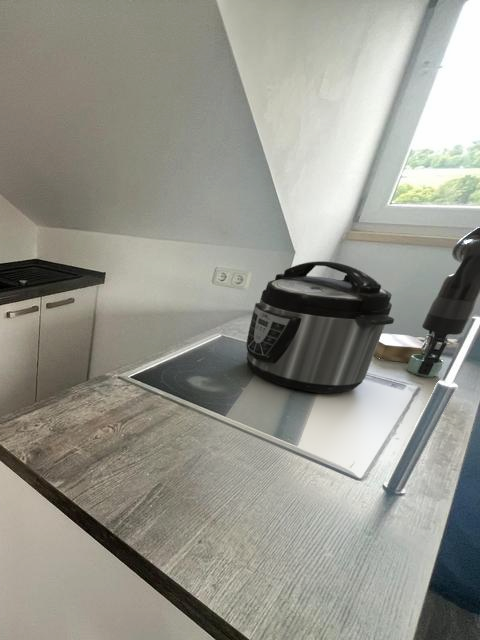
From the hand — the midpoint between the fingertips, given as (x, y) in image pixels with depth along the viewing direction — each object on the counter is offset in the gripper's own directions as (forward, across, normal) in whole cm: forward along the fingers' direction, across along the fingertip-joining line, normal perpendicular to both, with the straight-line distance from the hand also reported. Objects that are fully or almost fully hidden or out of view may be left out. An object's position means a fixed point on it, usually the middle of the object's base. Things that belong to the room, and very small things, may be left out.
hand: (422, 369), depth 111 cm
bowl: (+1, 0, 0) cm, 1 cm away
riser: (+1, +12, +6) cm, 14 cm away
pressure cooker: (+1, -25, +26) cm, 36 cm away
